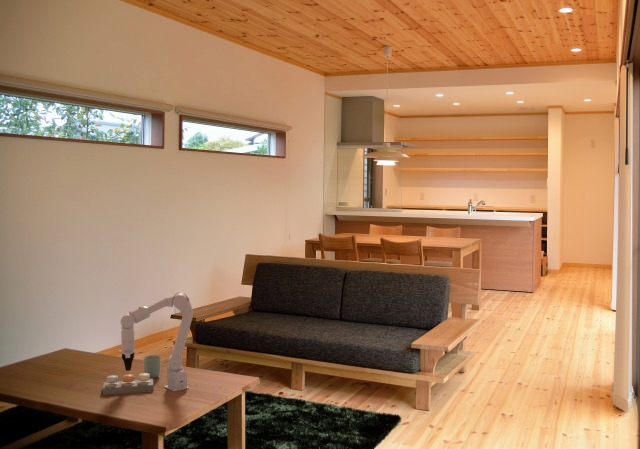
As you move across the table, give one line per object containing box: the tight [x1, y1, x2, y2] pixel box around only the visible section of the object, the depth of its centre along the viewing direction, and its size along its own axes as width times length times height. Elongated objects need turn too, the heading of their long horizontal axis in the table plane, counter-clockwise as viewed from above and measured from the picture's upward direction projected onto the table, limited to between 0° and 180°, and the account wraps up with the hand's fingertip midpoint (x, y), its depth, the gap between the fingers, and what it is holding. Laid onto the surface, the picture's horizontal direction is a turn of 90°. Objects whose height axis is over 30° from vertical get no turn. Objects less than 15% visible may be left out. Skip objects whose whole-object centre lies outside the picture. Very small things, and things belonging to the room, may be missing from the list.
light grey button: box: [106, 374, 119, 384], centre depth 310 cm, size 5×5×2 cm
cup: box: [143, 354, 162, 379], centre depth 332 cm, size 8×8×10 cm
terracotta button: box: [122, 373, 135, 382], centre depth 312 cm, size 5×5×2 cm
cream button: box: [138, 372, 151, 381], centre depth 313 cm, size 5×5×2 cm
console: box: [102, 378, 154, 396], centre depth 312 cm, size 22×10×3 cm, turn 105°
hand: (128, 369), depth 311 cm, fingers open, 2 cm apart
